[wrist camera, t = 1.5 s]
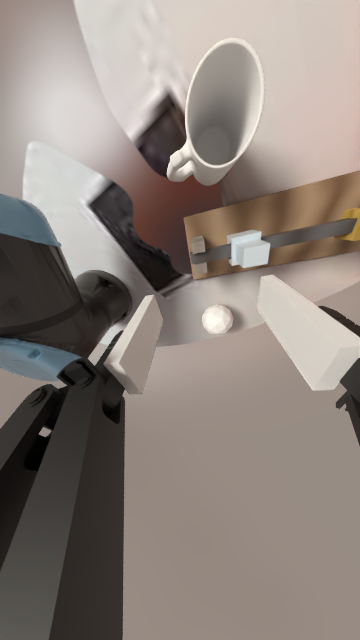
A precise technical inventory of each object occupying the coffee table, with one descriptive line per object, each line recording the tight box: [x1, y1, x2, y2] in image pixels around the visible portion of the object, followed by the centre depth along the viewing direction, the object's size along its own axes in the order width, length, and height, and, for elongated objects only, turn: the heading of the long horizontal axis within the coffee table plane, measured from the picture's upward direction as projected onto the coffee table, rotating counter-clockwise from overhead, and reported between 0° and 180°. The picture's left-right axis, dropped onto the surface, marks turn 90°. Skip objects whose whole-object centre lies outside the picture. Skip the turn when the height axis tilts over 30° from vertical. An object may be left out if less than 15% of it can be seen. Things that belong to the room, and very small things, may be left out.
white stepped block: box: [227, 230, 270, 268], centre depth 21 cm, size 4×4×8 cm
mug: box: [167, 38, 265, 186], centre depth 18 cm, size 10×7×12 cm, turn 117°
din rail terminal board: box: [184, 171, 360, 280], centre depth 23 cm, size 32×12×9 cm, turn 102°
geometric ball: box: [202, 304, 234, 335], centre depth 36 cm, size 8×8×8 cm
